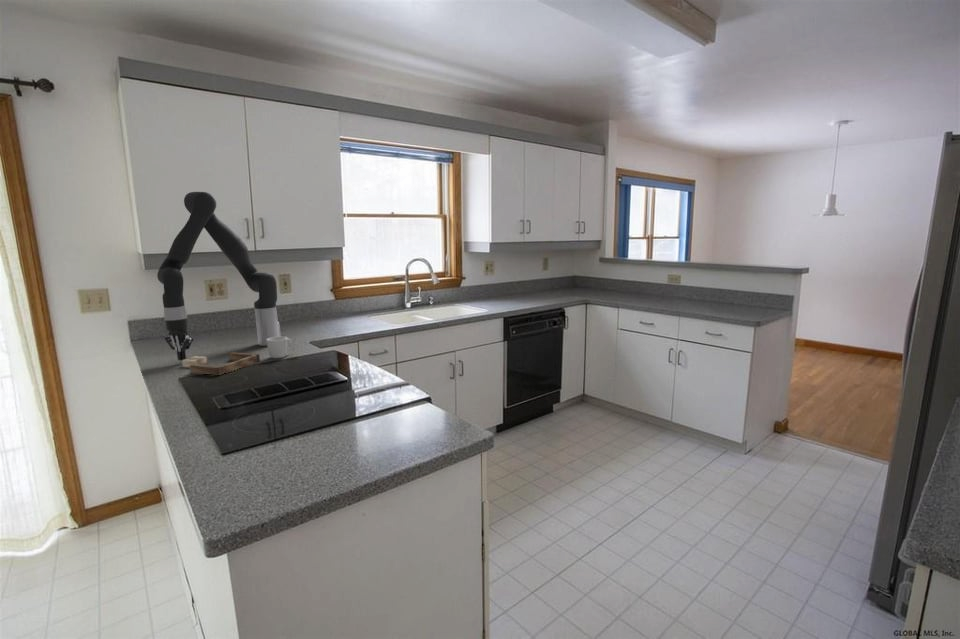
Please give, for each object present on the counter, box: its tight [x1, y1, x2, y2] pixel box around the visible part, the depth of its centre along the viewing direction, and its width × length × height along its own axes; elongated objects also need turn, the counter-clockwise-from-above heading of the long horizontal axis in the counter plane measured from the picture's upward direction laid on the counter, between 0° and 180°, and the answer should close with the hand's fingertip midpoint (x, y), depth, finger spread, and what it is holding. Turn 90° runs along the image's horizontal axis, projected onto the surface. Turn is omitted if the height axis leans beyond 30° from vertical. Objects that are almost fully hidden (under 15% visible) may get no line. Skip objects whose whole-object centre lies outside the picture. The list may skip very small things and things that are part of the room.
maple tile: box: [181, 355, 208, 368], centre depth 192 cm, size 6×6×3 cm
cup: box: [266, 335, 293, 359], centre depth 202 cm, size 11×8×8 cm
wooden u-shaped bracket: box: [189, 351, 261, 376], centre depth 188 cm, size 20×14×3 cm
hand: (182, 360), depth 195 cm, fingers closed
